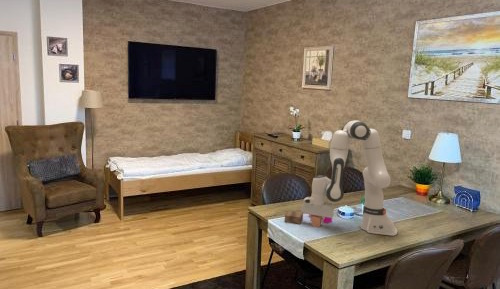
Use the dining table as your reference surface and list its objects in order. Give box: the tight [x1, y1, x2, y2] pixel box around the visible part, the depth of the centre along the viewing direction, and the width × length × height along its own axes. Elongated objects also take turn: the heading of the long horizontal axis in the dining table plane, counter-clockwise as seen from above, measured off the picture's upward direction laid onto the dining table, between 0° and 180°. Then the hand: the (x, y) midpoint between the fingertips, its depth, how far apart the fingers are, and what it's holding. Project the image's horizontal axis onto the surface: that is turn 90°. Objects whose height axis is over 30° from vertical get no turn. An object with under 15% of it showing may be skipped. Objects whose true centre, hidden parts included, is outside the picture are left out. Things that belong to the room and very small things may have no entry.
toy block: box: [311, 215, 333, 224], centre depth 252 cm, size 15×6×8 cm, turn 36°
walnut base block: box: [284, 210, 304, 225], centre depth 247 cm, size 10×10×5 cm
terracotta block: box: [311, 215, 322, 228], centre depth 241 cm, size 5×5×6 cm
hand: (316, 221), depth 241 cm, fingers closed on terracotta block, 5 cm apart
